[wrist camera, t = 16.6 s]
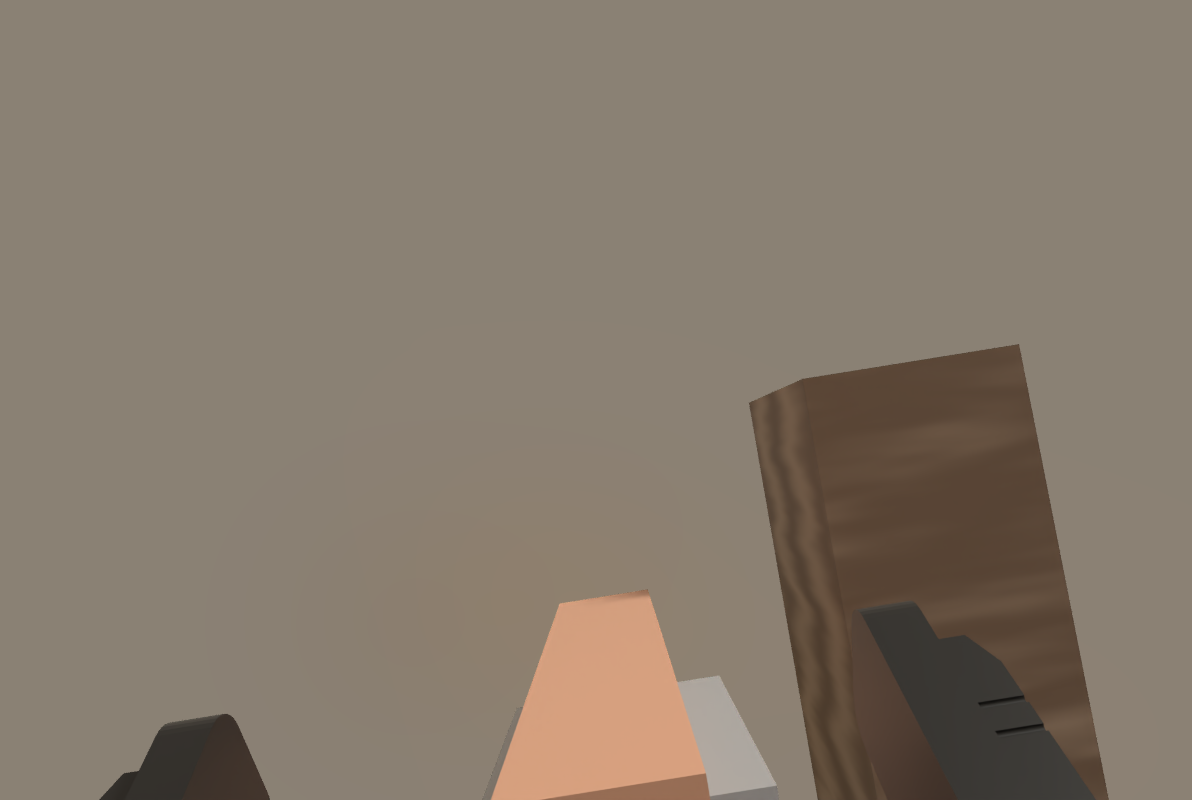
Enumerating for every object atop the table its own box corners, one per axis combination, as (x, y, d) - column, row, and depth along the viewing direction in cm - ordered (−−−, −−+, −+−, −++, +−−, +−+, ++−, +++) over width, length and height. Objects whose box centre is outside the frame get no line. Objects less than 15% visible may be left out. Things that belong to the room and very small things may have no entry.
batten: (570, 670, 40) (559, 603, 40) (658, 656, 40) (647, 589, 40) (513, 979, 16) (488, 808, 16) (734, 943, 16) (705, 773, 16)
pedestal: (836, 981, 49) (737, 405, 51) (1020, 951, 49) (912, 376, 51) (938, 1212, 34) (790, 379, 36) (1205, 1170, 34) (1040, 339, 36)
